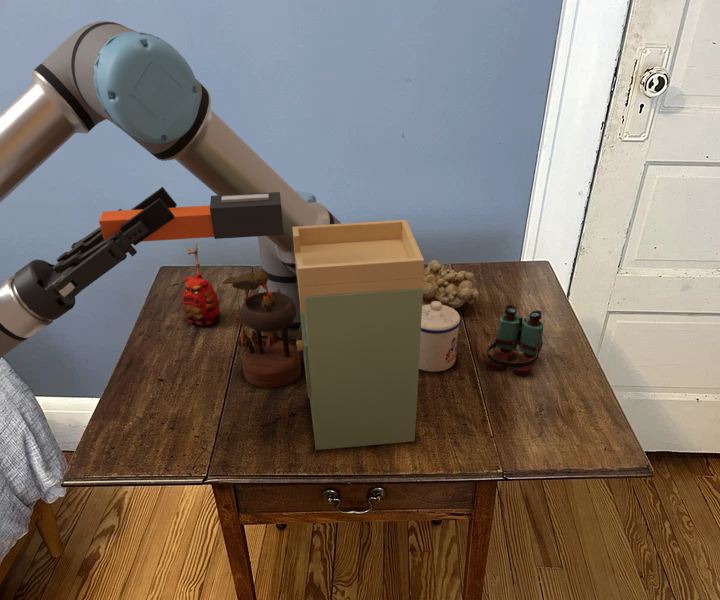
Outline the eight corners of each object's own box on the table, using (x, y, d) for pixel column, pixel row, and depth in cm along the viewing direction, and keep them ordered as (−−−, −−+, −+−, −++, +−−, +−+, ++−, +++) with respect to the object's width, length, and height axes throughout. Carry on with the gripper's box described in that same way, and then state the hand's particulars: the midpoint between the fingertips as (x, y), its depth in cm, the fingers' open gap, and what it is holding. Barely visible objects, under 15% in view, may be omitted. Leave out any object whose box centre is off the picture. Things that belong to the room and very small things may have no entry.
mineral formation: (429, 284, 149) (493, 296, 142) (400, 319, 142) (465, 334, 136) (426, 251, 143) (492, 262, 136) (395, 286, 136) (464, 300, 130)
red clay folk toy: (178, 324, 138) (163, 253, 128) (196, 308, 143) (182, 238, 132) (211, 330, 136) (198, 258, 126) (228, 314, 141) (217, 243, 130)
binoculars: (485, 328, 116) (503, 297, 122) (481, 377, 124) (497, 345, 130) (537, 339, 113) (552, 307, 119) (529, 388, 121) (544, 355, 127)
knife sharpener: (109, 232, 90) (100, 198, 87) (282, 221, 92) (279, 188, 89) (104, 246, 87) (94, 211, 84) (283, 234, 89) (280, 200, 86)
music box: (229, 388, 121) (213, 279, 109) (242, 359, 130) (228, 255, 117) (314, 390, 120) (307, 280, 108) (321, 361, 129) (316, 256, 116)
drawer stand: (301, 399, 118) (286, 226, 97) (400, 391, 120) (406, 219, 99) (306, 451, 108) (290, 269, 87) (414, 441, 109) (424, 260, 89)
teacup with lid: (455, 375, 123) (461, 317, 115) (405, 371, 124) (407, 314, 116) (458, 340, 132) (464, 285, 124) (411, 337, 133) (414, 282, 125)
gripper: (-5, 305, 84) (140, 200, 78) (26, 250, 96) (154, 155, 90) (43, 348, 89) (183, 252, 83) (67, 291, 101) (191, 203, 95)
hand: (168, 202), depth 87 cm, fingers closed on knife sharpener, 3 cm apart
